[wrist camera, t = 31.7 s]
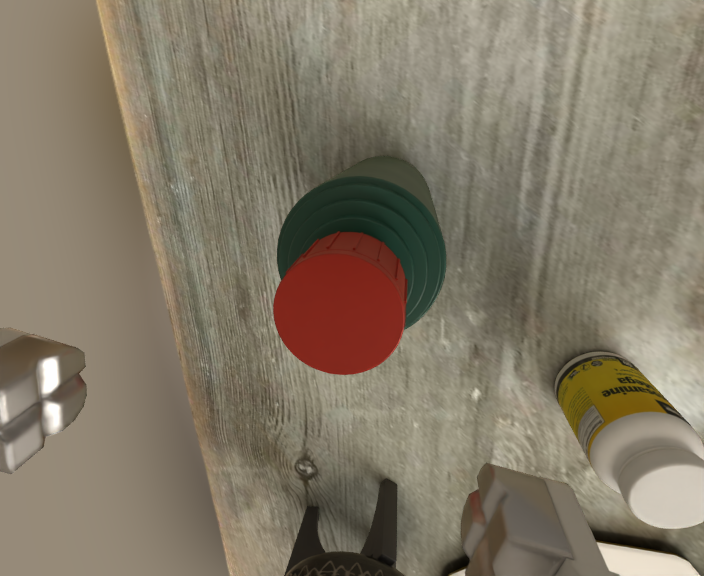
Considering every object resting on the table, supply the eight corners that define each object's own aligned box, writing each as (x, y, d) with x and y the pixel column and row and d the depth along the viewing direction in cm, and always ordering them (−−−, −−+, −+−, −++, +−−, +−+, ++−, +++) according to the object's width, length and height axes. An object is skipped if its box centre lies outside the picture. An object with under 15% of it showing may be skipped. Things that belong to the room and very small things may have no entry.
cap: (378, 352, 15) (371, 395, 13) (281, 308, 15) (254, 343, 13) (427, 260, 14) (430, 289, 11) (319, 211, 14) (298, 229, 11)
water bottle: (356, 139, 28) (270, 151, 11) (448, 180, 28) (503, 254, 11) (321, 230, 31) (208, 352, 14) (406, 267, 31) (397, 434, 14)
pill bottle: (651, 358, 31) (768, 470, 21) (616, 422, 33) (707, 551, 23) (568, 340, 31) (644, 441, 21) (540, 404, 34) (596, 524, 23)
